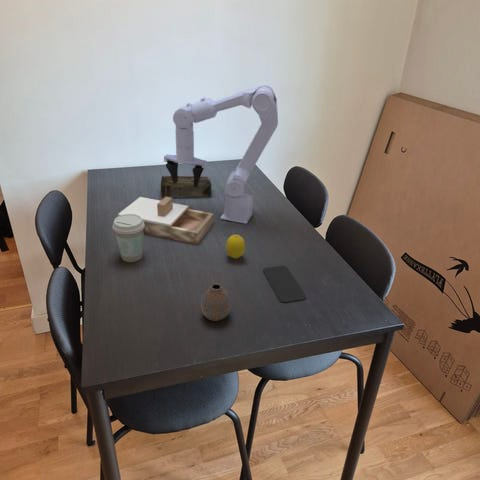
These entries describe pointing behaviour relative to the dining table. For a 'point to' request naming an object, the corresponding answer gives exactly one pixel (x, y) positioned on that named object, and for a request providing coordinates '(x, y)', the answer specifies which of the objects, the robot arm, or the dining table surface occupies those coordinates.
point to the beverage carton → (185, 187)
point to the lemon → (235, 246)
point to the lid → (156, 210)
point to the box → (184, 227)
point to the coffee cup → (129, 236)
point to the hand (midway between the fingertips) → (185, 184)
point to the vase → (215, 303)
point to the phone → (284, 284)
